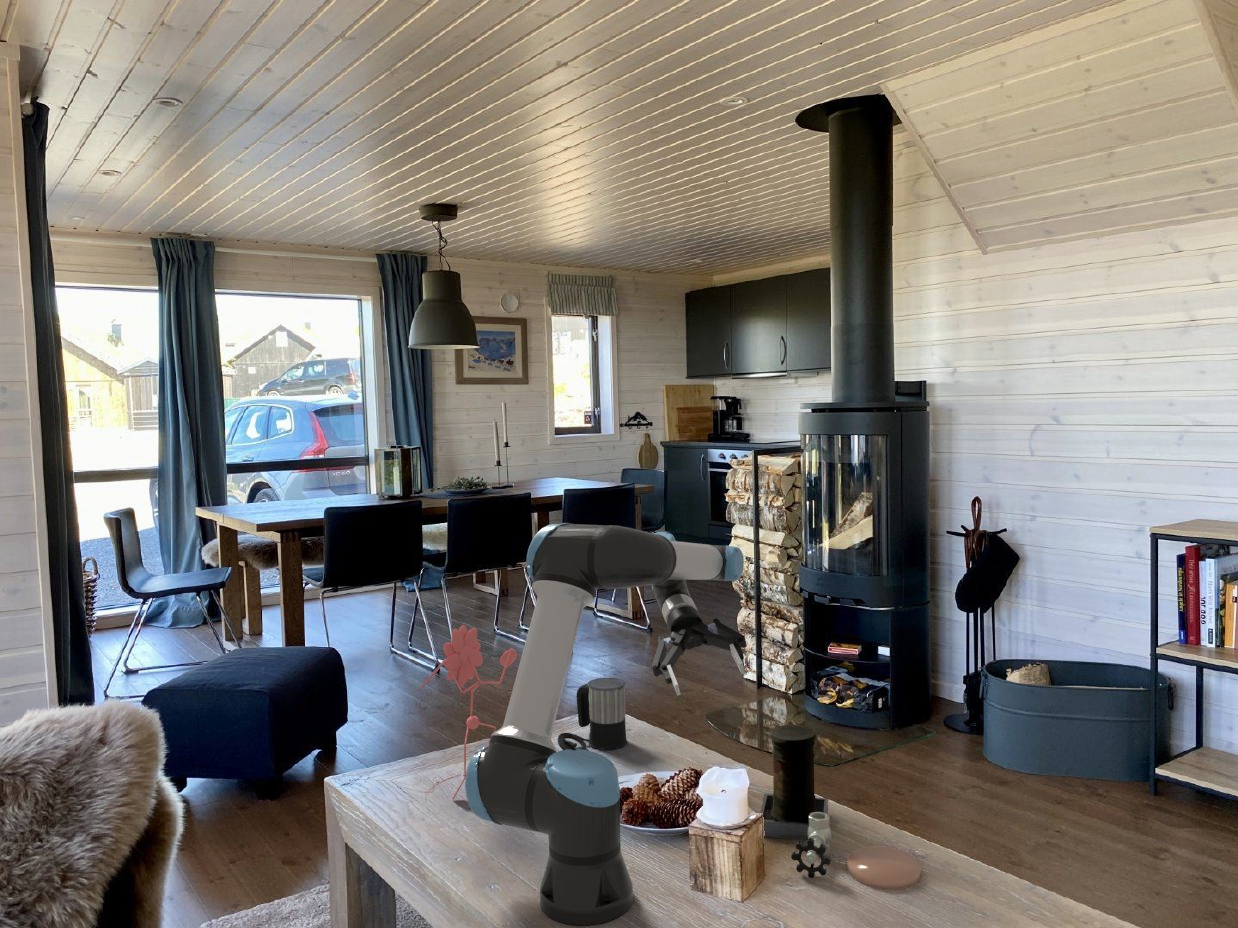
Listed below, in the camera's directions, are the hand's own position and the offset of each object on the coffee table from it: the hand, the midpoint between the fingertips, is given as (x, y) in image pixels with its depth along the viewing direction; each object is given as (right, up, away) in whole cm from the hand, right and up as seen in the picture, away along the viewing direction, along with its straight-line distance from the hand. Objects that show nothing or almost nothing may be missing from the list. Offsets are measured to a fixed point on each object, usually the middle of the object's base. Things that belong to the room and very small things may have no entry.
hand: (710, 679), depth 187 cm
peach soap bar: (+27, -26, -28) cm, 47 cm away
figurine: (-51, -26, +13) cm, 58 cm away
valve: (+16, -27, -24) cm, 39 cm away
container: (+15, -26, -9) cm, 31 cm away
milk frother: (-24, -24, +35) cm, 49 cm away
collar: (+15, -25, -9) cm, 31 cm away
